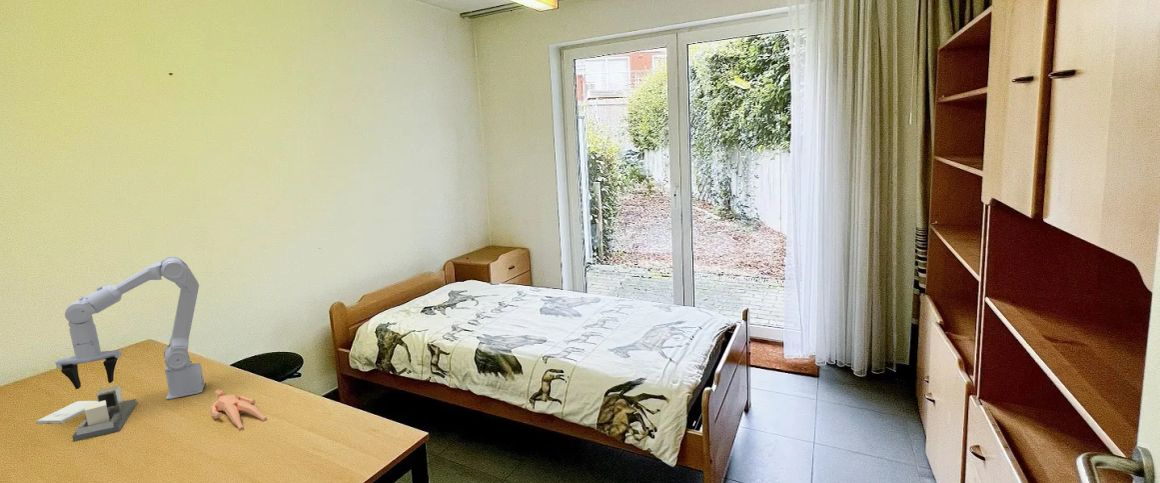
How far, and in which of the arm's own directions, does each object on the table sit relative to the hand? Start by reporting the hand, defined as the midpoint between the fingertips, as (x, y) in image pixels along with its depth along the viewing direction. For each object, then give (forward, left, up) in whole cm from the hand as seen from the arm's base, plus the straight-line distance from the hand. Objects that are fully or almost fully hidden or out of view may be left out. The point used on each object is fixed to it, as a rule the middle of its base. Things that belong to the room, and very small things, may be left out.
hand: (94, 384), depth 165 cm
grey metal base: (-3, +7, -9) cm, 12 cm away
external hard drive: (+9, -7, -10) cm, 15 cm away
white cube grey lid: (-3, +13, -8) cm, 15 cm away
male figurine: (-37, +24, -10) cm, 45 cm away
